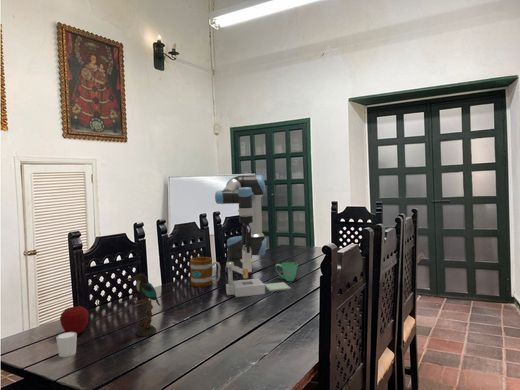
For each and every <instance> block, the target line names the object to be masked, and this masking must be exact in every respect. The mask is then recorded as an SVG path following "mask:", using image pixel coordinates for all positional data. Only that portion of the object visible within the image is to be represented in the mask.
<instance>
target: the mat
mask: <svg viewBox="0 0 520 390" xmlns="http://www.w3.org/2000/svg"><path fill="white" fill-rule="evenodd" d="M263 284H264V285H265V289H267V290H268V291H269V292H275V291H276V292H277V291H283V290H284V291H286V290H291V287H290V286H289V285H288V284H287V283H285V282H283V281H282V282H273V283H263Z"/></svg>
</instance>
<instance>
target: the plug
mask: <svg viewBox="0 0 520 390" xmlns="http://www.w3.org/2000/svg"><path fill="white" fill-rule="evenodd" d="M250 257H251V258H250V259H245V247H244V248H242V259H240V261H241V262H242V263H243V269H245V268H246V269H248V273H252V272H253V267H252V266H253V264H252V263H255V260H254V259H252V257H253V256H252V255H251V248H250Z"/></svg>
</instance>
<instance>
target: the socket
mask: <svg viewBox="0 0 520 390" xmlns="http://www.w3.org/2000/svg"><path fill="white" fill-rule="evenodd" d="M233 275H234V273H233V272H232V269H231V268H228V273H227V276H228V277H227V278H228V283H226V284H225V291H226V296H231V295H233V296H235V297H236V298H239V297H241V298H242V297H248V296H249V297H250V296H258V295H265V294H266V287H265V285H264V284H265V283H264V282H263V281H261V280H260V279H259V278H251V279H250V278H247V279H239V280H234V279H233V278H234V277H233Z"/></svg>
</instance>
